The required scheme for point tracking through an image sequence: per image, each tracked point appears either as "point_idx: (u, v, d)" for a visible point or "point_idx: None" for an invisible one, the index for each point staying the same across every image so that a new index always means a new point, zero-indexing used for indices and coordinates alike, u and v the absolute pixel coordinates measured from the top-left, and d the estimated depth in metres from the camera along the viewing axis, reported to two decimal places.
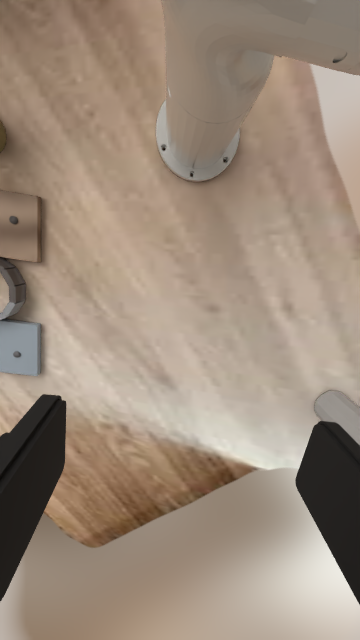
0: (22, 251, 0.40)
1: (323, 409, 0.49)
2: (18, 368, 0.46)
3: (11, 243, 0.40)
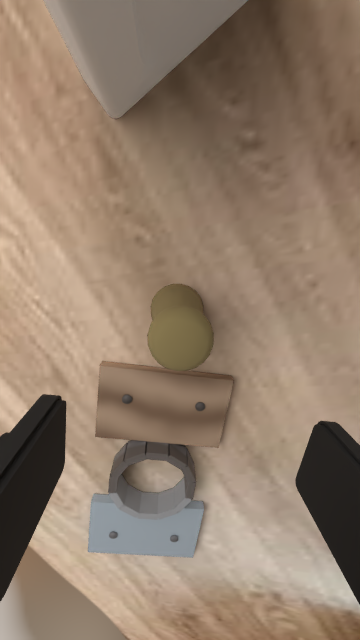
0: (203, 437, 0.32)
1: None
2: (172, 551, 0.38)
3: (191, 430, 0.32)
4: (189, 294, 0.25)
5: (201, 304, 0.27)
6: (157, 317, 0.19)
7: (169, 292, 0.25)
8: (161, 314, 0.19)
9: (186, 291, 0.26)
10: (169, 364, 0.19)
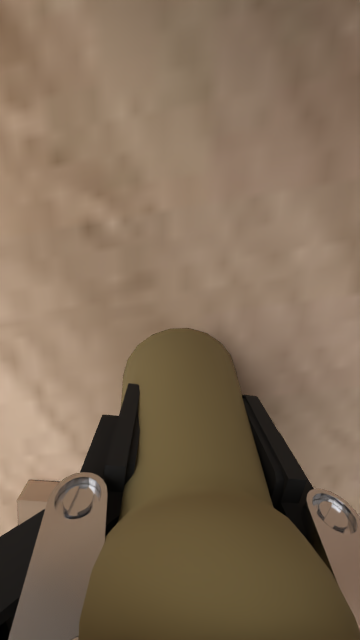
0: None
1: None
2: None
3: None
4: (213, 367, 0.10)
5: (237, 379, 0.11)
6: (90, 627, 0.03)
7: (161, 361, 0.10)
8: (110, 616, 0.03)
9: (204, 355, 0.10)
10: None
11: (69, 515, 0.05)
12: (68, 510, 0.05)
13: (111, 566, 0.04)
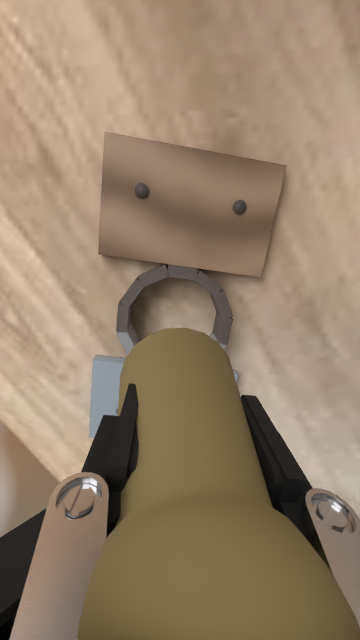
0: (241, 260, 0.24)
1: None
2: None
3: (226, 247, 0.24)
4: (211, 367, 0.10)
5: None
6: (89, 634, 0.03)
7: (159, 361, 0.10)
8: (110, 623, 0.03)
9: (202, 355, 0.10)
10: None
11: (70, 515, 0.05)
12: (69, 510, 0.05)
13: (110, 571, 0.04)
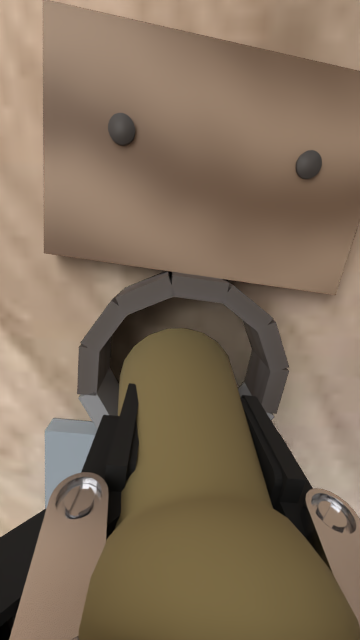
0: (304, 264, 0.13)
1: None
2: None
3: (279, 241, 0.13)
4: (211, 367, 0.10)
5: None
6: (89, 636, 0.03)
7: (158, 361, 0.10)
8: (111, 625, 0.03)
9: (201, 355, 0.10)
10: None
11: (70, 515, 0.05)
12: (69, 510, 0.05)
13: (110, 573, 0.04)
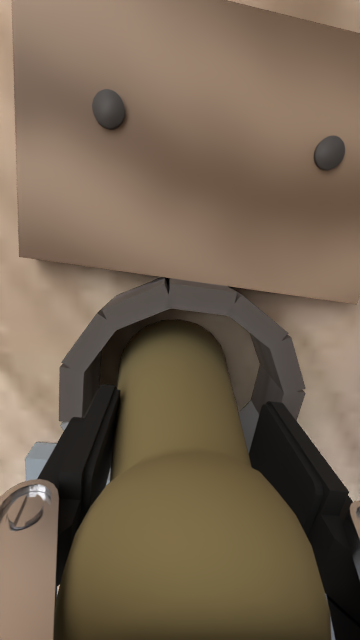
0: (321, 269, 0.12)
1: None
2: None
3: (293, 242, 0.11)
4: (202, 353, 0.11)
5: (226, 366, 0.12)
6: (89, 550, 0.04)
7: (154, 349, 0.11)
8: (106, 540, 0.04)
9: (194, 343, 0.11)
10: None
11: (16, 527, 0.05)
12: (14, 522, 0.05)
13: (106, 507, 0.05)
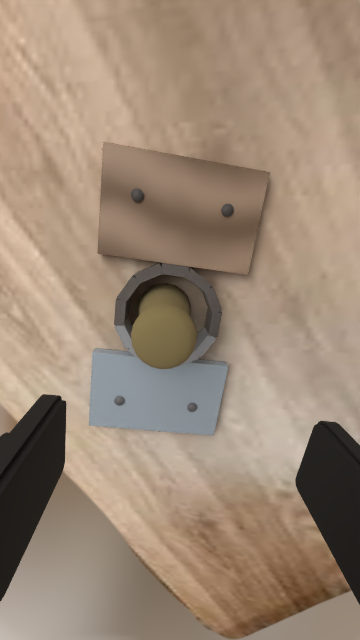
0: (229, 258, 0.26)
1: None
2: (189, 425, 0.32)
3: (216, 246, 0.26)
4: (175, 293, 0.25)
5: (188, 303, 0.27)
6: (140, 316, 0.19)
7: (155, 292, 0.25)
8: (143, 313, 0.19)
9: (172, 290, 0.26)
10: (152, 362, 0.19)
11: None
12: None
13: (143, 312, 0.19)
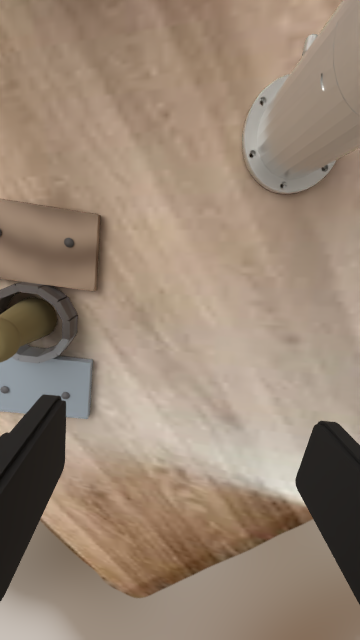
0: (77, 279, 0.34)
1: None
2: None
3: (65, 269, 0.33)
4: (30, 306, 0.33)
5: (47, 313, 0.34)
6: None
7: (15, 305, 0.33)
8: None
9: (30, 303, 0.33)
10: None
11: None
12: None
13: None
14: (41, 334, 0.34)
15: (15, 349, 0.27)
